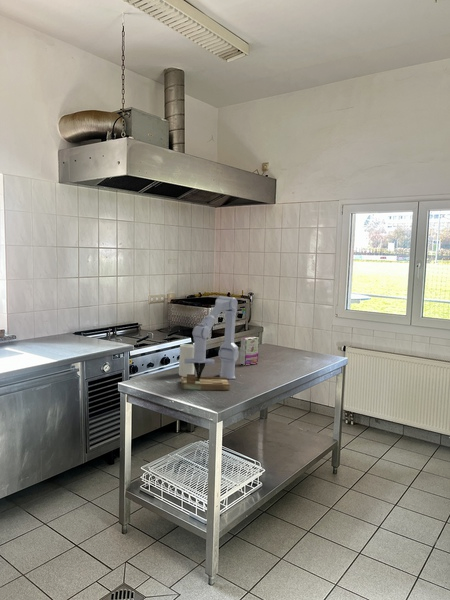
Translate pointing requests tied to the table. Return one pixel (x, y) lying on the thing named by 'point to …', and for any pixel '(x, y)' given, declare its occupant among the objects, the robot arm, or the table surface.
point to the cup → (186, 353)
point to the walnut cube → (191, 378)
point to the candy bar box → (249, 350)
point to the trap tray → (206, 383)
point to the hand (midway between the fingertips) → (198, 378)
